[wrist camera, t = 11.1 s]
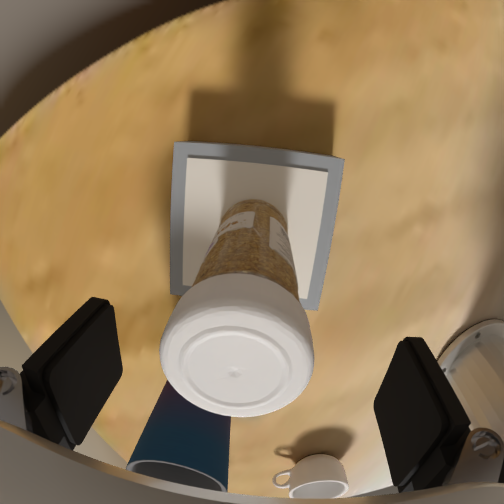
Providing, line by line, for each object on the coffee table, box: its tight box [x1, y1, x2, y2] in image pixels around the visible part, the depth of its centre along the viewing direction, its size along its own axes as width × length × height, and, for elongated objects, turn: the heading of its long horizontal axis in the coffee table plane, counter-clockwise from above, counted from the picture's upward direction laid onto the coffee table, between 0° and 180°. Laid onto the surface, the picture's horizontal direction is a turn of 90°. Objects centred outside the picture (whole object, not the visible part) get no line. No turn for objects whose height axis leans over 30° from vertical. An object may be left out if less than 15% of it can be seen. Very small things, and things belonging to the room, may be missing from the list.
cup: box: [126, 380, 231, 492], centre depth 23 cm, size 7×7×15 cm
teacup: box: [273, 454, 349, 499], centre depth 34 cm, size 10×8×5 cm
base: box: [170, 141, 345, 311], centre depth 23 cm, size 11×11×4 cm
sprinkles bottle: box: [159, 199, 314, 417], centre depth 15 cm, size 5×5×13 cm
